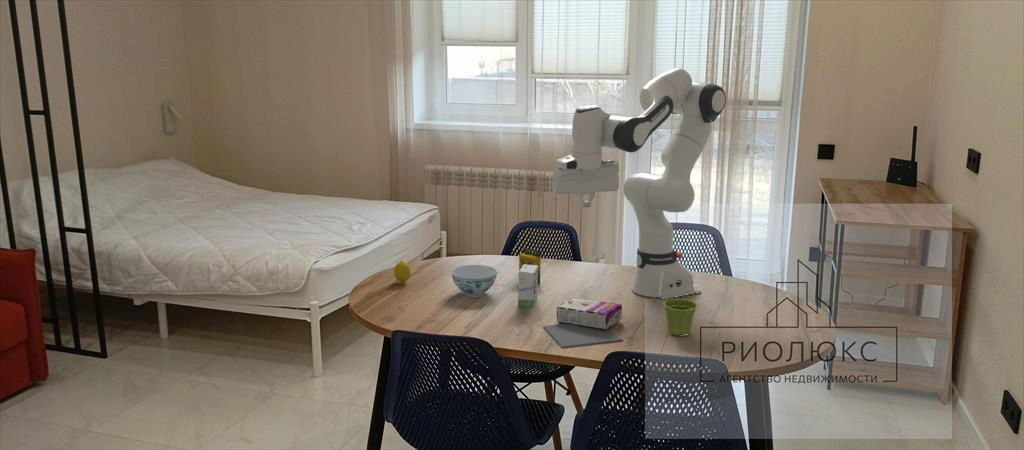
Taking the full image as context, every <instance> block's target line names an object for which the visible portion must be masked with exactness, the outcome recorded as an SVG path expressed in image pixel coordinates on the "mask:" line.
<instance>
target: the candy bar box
mask: <svg viewBox="0 0 1024 450" xmlns="http://www.w3.org/2000/svg"><path fill="white" fill-rule="evenodd" d="M622 319H623V304H621V303H614V302H606V301H599V300H592V299H587V298H586V299H584V298H577V297H572V298H570V299H568V300H567V301H565V302H563V303H561V304H559V305H557V306H556V322H557V323H562V324H567V323H569V324H575V325H582V326H588V327H594V328H600V329H607V328H611V327H613V326H614V325H615V324H616V323H618V322H619V321H621V320H622Z"/></svg>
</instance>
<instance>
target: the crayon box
mask: <svg viewBox="0 0 1024 450" xmlns="http://www.w3.org/2000/svg"><path fill="white" fill-rule="evenodd" d="M523 249H524V253H523V252H522V253H520V254H519V255H518V258H519V259H518V261H519V263H518V271H519V270H520V269H521V267H522V266H523V265H524V264H527V265H537V266H538V285H541V257H542V256H541V255H542V254H541V251H538V250H534V249H530V248H526V247H524V248H523ZM532 252H533V253H532Z"/></svg>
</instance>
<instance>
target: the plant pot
mask: <svg viewBox="0 0 1024 450" xmlns="http://www.w3.org/2000/svg"><path fill="white" fill-rule="evenodd" d="M663 306H664V308H665V311H666V312H665V313H666V321H667V330H668V331H669V332H670V333H672V334H675V335H674V336H678V335H685V334H689V333H691V329H692V324H693V319H694V314H695V313H696V309H698V304H697V303H696V302H695V301H692V300H689V299H684V298H683V299H682V298H671V299H666V300H665V301H664V302H663ZM669 332H668V333H669ZM670 333H669V334H670ZM689 335H690V334H689Z"/></svg>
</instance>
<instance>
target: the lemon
mask: <svg viewBox="0 0 1024 450" xmlns="http://www.w3.org/2000/svg"><path fill="white" fill-rule="evenodd" d="M393 275H394V278H395V279H396V280H397V281H398V282H400V283H401V284H404V283H405V282H406V281H408V280H409V279H410V277H411V268H410V264H408V263H407V262H406V261H404V260H400V261H398V262H397V263H396V264H395V266H394V271H393Z"/></svg>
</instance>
